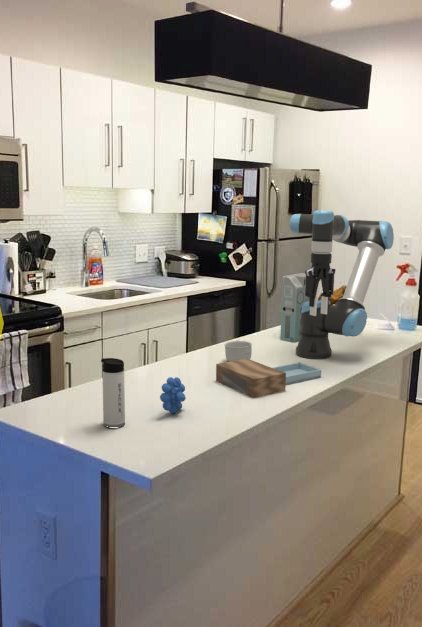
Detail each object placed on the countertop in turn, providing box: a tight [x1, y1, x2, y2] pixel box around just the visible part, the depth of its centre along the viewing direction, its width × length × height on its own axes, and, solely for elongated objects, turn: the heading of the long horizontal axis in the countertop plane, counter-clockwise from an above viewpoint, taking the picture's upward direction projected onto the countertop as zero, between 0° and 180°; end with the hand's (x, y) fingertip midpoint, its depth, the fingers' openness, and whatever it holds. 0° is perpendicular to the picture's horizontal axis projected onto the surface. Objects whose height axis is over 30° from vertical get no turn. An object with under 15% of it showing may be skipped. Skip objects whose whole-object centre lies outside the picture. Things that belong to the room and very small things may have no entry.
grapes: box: [159, 376, 187, 414], centre depth 191 cm, size 12×7×12 cm, turn 146°
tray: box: [271, 362, 322, 386], centre depth 232 cm, size 20×12×3 cm, turn 125°
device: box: [279, 272, 313, 343], centre depth 291 cm, size 16×8×30 cm, turn 140°
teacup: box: [224, 339, 253, 362], centre depth 252 cm, size 14×11×8 cm
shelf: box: [215, 359, 287, 399], centre depth 221 cm, size 14×22×6 cm, turn 35°
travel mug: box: [100, 357, 126, 428], centre depth 181 cm, size 6×7×20 cm
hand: (318, 314), depth 235 cm, fingers open, 5 cm apart
